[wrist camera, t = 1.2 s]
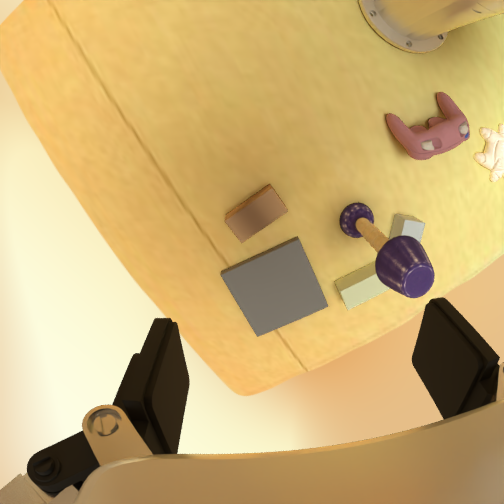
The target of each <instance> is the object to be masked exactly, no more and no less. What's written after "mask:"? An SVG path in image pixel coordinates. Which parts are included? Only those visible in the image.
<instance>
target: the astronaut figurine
mask: <svg viewBox="0 0 504 504" xmlns="http://www.w3.org/2000/svg"><path fill="white" fill-rule="evenodd" d="M480 135H481V136H482V137H483V139H484V140H485V141H486V145H485V149H484V152H483V153H479V152H477V153H475V154H474V159H475V160H476V161H477V162H478V163H479V164H480V165H482V166H484V167H486V168H488V169H489V170H491V172H490V177H489V179H490V181H492V182H495V181H498V178H501V177H502V175H503V178H504V125H503V124H499V125H498V133H497V132H496V131H494V130H492V129H489V128H484V127H482V128H480Z"/></svg>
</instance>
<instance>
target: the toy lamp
mask: <svg viewBox="0 0 504 504" xmlns="http://www.w3.org/2000/svg"><path fill="white" fill-rule="evenodd" d="M373 224H374V217H373V213H372V211H371V210H370V208H369V207H368V206H366V205H364V204H362V203H353V204H350V205H349V206H347V207H346V208H345V209H344V210H343V212H342V214H341V216H340V226H341V229H342V230H343V232H344V233H345V234H347V235H348V236H351V237H354V238H359V237H365V239H366V240H367V242H369V243H370V245H371V246H372V247H373V248H375V250H376V251H377V252H378V254H377V257H376V261H375V271H376V274H377V277H378V278H379V280H380V281H381V282H382V283H383V284H384V285H386V286H387V287H389V288H391V289H393V290H394V291H396V292H398V293H400V294H402V295H404V296H406V297H410V298H418V297H421V296H423V295H424V294H426V293H427V292H428V291H429V290H430V288H431V286H432V284H433V282H434V270H433V267H432V265H431V262H430V260H429V258H428V256H427V254H426V252H425V250H424V248H423V247H422V245H421V244H420V242H419V241H418V240H416V239H415V238H413V237H411V236H407V235H400V236H397V237H393V238H392V239H390V240H389V239H388V238H387V237H385V235H384V234H383V233H382V232H380V231H379V229H378V228H376V227H375V226H374V225H373Z"/></svg>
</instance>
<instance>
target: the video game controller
mask: <svg viewBox="0 0 504 504" xmlns="http://www.w3.org/2000/svg"><path fill="white" fill-rule="evenodd" d="M437 101H438V104H439V106H440V108H441V110H442V112H443V114H444V115H445V117H446V118H447V119H443V118H440V117H432V118H430V119H429V121H428V123H429V129H428V130H427V129H426V128H425V127H423V126H420V125H418V126H413V127H411V128H410V129H409V128H408V127H407V126H406V125H405V124H404V123H403V122H402V121H401V120H400V119H399V118H398V117H397V116H396V115H394V114H391V113H389V114H387V116H386V121H387V124H388V126H389V128H390V130H391V132H392V133H393V135H394V136H395V137H396V139H397V140H398V141H399V142H400V143H401V145H402V146H403V147H404V148H405V149H406V150H407V153H408V155H409V156H410V157H412V158H414V159H417V160H426V159H429V158H431V157H432V156H433V155H437V154H441V153H444V152H447V151H449V150H451V149H453V148H455V147H457V146H458V145H460V144H461V143H462V142H463V141H466V140H467V139H468V138H469V136H470V133H469V124H468V121H467V118H466V117H465V115H464V114H463V113H462V112H461V110H460V109H459V108H458V107H457V105H456V104H455V103H454V102H453V100H452V99H451V98H450V97H449V96H448V95H446V94H445V93H443V92H438V94H437Z"/></svg>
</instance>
